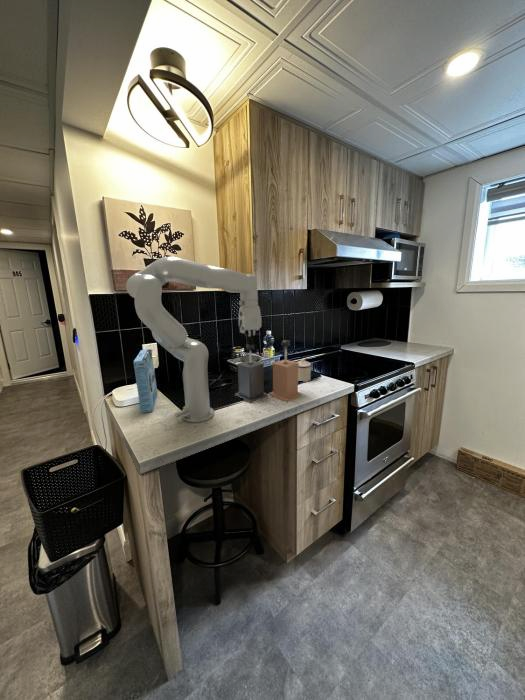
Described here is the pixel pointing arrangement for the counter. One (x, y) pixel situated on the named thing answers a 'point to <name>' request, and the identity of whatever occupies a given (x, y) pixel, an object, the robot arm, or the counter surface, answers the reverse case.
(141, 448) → the counter surface
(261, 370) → the press
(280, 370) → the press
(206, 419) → the robot arm
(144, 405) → the gum box
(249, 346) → the plunger
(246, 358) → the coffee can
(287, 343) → the plunger
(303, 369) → the teacup with lid
